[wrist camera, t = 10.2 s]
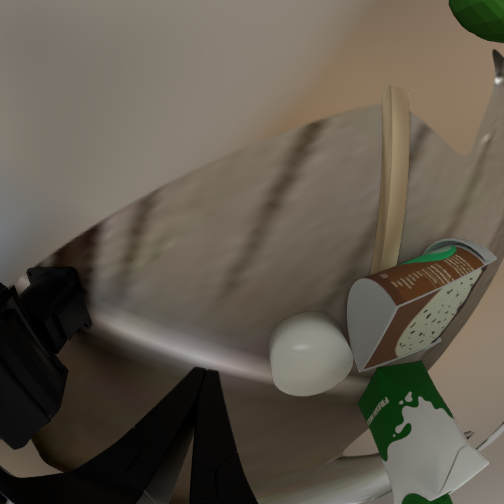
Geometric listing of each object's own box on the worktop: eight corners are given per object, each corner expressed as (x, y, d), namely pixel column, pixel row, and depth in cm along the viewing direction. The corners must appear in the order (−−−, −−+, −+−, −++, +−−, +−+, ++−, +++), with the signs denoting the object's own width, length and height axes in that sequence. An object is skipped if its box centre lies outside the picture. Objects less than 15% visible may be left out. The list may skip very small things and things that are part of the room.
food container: (332, 324, 25) (412, 299, 26) (354, 379, 21) (439, 344, 21) (355, 219, 17) (453, 204, 18) (405, 288, 12) (500, 252, 13)
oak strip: (369, 279, 22) (376, 287, 21) (381, 88, 16) (391, 85, 15) (384, 277, 22) (392, 285, 21) (398, 92, 16) (408, 90, 15)
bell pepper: (483, 62, 14) (550, 57, 5) (430, 5, 12) (495, -23, 3) (491, 25, 12) (547, 16, 2) (444, -25, 10) (496, -49, 1)
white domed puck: (266, 369, 26) (270, 399, 22) (269, 313, 23) (274, 343, 19) (332, 363, 26) (343, 390, 22) (345, 308, 23) (361, 335, 20)
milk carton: (373, 362, 26) (444, 513, 8) (429, 354, 27) (504, 470, 9) (348, 408, 30) (392, 537, 11) (402, 398, 30) (454, 505, 12)
